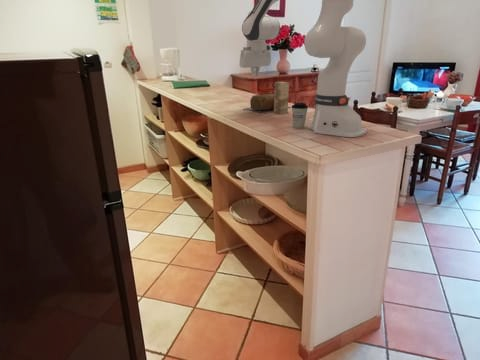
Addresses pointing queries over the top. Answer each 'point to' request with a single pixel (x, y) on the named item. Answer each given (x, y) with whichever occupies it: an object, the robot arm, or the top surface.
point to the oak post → (281, 97)
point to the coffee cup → (299, 114)
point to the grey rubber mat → (260, 110)
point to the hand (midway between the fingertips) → (255, 76)
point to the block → (262, 102)
